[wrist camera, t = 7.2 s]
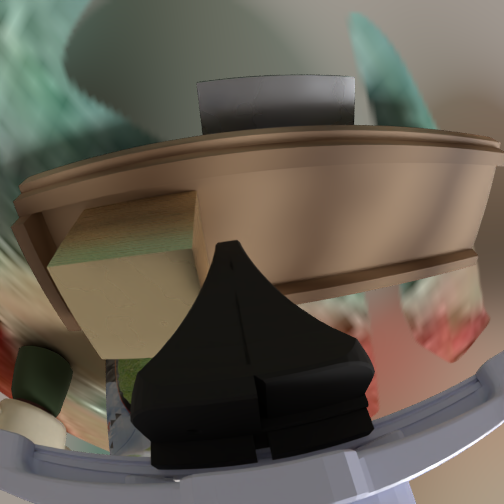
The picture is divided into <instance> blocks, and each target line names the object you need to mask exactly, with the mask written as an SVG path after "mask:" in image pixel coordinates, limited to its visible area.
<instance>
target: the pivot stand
mask: <svg viewBox="0 0 504 504" xmlns="http://www.w3.org/2000/svg"><path fill="white" fill-rule="evenodd" d="M197 92H198V100H199V109H200V117H201V124H202V133H203V135H208V134H216V133H224V132H232V131H242V130H252V129H263V128H276V127H292V126H317V125H354V104H355V77H350V76H335V75H334V76H333V75H267V76H250V77H238V78H228V79H218V80H210V81H202V82H197Z"/></svg>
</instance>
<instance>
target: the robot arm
mask: <svg viewBox="0 0 504 504" xmlns="http://www.w3.org/2000/svg"><path fill="white" fill-rule="evenodd" d="M374 372H375V371H374V367H373V365H372V363H371V360H370V358H369V357H368V355H367V353H366V352H365V350H364V349H363V347H362V346H361V344H360V343H359V341H358V340H357V339H356V338H354V337H352V336H350V335H347V334H345V333H343V332H341V331H338V330H336V329H334V328H332V327H330V326H328V325H326V324H325V323H323V322H321V321H319V320H318V319H316V318H315V317H313V316H312V315H310V314H309V313H307V312H305V311H304V310H302V309H301V308H300V307H298V306H297V305H296V304H294V303H293V302H292V301H290V300H289V299H288V298H287V297H286V296H284V295H283V294H282V293H281V292H280V291H279V290H278V289H277V288H276V287H274V286H273V285H272V284H271V283H270V281H269V280H268V279H267V278H266V277H265V276H264V275H263V274H262V273H261V272H260V271H259V269H258V268H257V267H256V266H255V264H254V263H253V262H252V261H251V259H250V258H249V256H248V255H247V254H246V252H245V251H244V249H243V247H242V245H241V243H240V242H239V241H238V240H232V241H225V242H218V243H217V244H216V245H215V252H214V256H213V260H212V263H211V266H210V268H209V271H208V274H207V277H206V279H205V281H204V283H203V286H202V288H201V290H200V292H199V294H198V296H197V298H196V300H195V302H194V304H193V305H192V307H191V309H190V310H189V312H188V314H187V315H186V317H185V318H184V320H183V321H182V323H181V324H180V326H179V327H178V328H177V330H176V331H175V333H174V334H173V335H172V336H171V337H170V339H169V340H168V341H167V342H166V343H165V345H164V346H163V347H162V348H161V350H160V351H159V352H158V353H157V354H156V355H155V356H154V357H153V358H152V359H151V360H150V361H149V362H148V363H147V364H146V365H145V366H144V367H143V368H142V369H141V370H140V371H139V372H138V373H137V375H136V379H135V383H134V387H133V391H132V397H131V412H130V421H131V423H132V424H133V426H134V427H135V428H136V429H137V430H138V431H140V432H141V433H142V434H143V435H144V436H145V437H146V438H147V439H148V440H150V441H151V457H135V456H116V455H104V454H93V453H85V452H78V451H71V450H64V449H58V448H53V447H48V446H43V445H38V444H34V443H33V442H32V441H31V440H29V439H28V438H26V437H25V436H23V435H20V434H18V433H14V432H10V431H6V430H3V429H0V490H2V491H5V492H7V493H9V494H12V495H14V496H16V497H19V498H21V499H24V500H27V501H29V502H32V503H35V504H416V502H415V499H414V496H413V494H412V490H411V487H410V484H409V482H408V481H410V480H412V479H414V478H416V477H418V476H420V475H422V474H424V473H426V472H428V471H430V470H432V469H433V468H435V467H437V466H439V465H441V464H442V463H444V462H446V461H448V460H449V459H451V458H453V457H455V456H456V455H458V454H460V453H461V452H463V451H464V450H466V449H467V448H469V447H470V446H472V445H474V444H475V443H476V442H478V441H479V440H481V439H482V438H484V437H485V436H487V435H488V434H489V433H491V432H492V431H493V430H495V429H496V428H498V427H499V426H500V425H501V424H503V423H504V350H503V351H502V352H500V353H499V354H497V355H495V356H494V357H492V358H490V359H489V360H487V361H486V362H485V363H484V364H483V365H482V366H481V367H480V368H479V369H478V371H477V372H476V374H475V375H473V376H472V377H470V378H468V379H466V380H464V381H462V382H460V383H459V384H457V385H455V386H453V387H451V388H449V389H447V390H445V391H443V392H441V393H439V394H437V395H434V396H432V397H430V398H428V399H426V400H424V401H421V402H419V403H417V404H414V405H412V406H410V407H407V408H405V409H402V410H400V411H397V412H395V413H392V414H390V415H387V416H384V417H382V418H379V419H376V420H373V421H371V418H370V416H369V413H368V410H367V408H366V407H368V401H367V398H366V396H365V392H366V390H367V388H368V386H369V385H370V383H371V381H372V379H373V376H374ZM174 480H180V481H179V482H175V481H174Z"/></svg>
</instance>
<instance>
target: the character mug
mask: <svg viewBox="0 0 504 504" xmlns="http://www.w3.org/2000/svg"><path fill="white" fill-rule="evenodd" d="M72 374H73V371H72V369H71V367H70V365H69V363H68V362H67V361H66V360H65V359H63V358H62V357H61V356H60V355H59V354H57V353H54V352H52V351H50V350H48V349H46V348H41V347H36V346H23V347H21V348H19V351H18V355H17V359H16V363H15V368H14V374H13V381H12V388H11V390H12V396H13V399H4V400H2V401H1V402H0V429H3V430H6V431H10V432H14V433H18V434H20V435H23V436H25V437H26V438H28V439H29V440H31V441H32V442H33V443H34V444H38V445H43V446H48V447H53V448H58V449H64V450H70V449H69V448H68V447H66V446H65V441H66V428H65V426H64V425H63V423H62V422H60V421H59V420H58V419H56V417H57V416H58V414H59V413H60V411H61V408H62V405H63V402H64V400H65V397H66V394H67V391H68V388H69V385H70V382H71V379H72Z"/></svg>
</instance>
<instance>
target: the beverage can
mask: <svg viewBox="0 0 504 504" xmlns="http://www.w3.org/2000/svg"><path fill="white" fill-rule="evenodd" d="M151 359H152V358H135V359H106V406H107V424H108V437H109V448H110V455H116V456H135V457H151V441H150V440H148V439H147V438H146V437H145V436H144V435H143V434H142V433H141V432H140V431H138V430H137V429H136V428H135V427H134V426H133V424H132V423H131V421H130V412H131V397H132V391H133V387H134V383H135V379H136V375H137V373H138V372H139V371H140V370H141V369H142V368H143V367H144V366H145V365H146V364H147V363H148V362H149V361H150V360H151ZM174 481H175V482H179V481H180V480H174Z"/></svg>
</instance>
